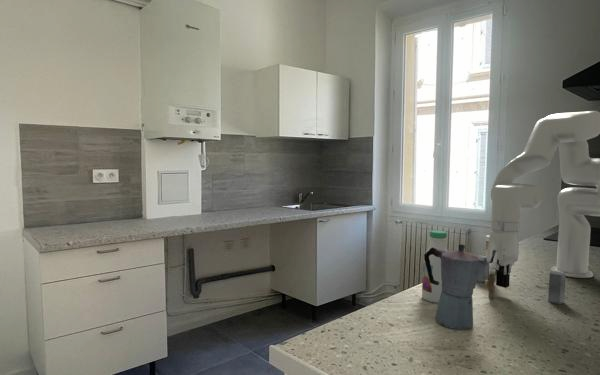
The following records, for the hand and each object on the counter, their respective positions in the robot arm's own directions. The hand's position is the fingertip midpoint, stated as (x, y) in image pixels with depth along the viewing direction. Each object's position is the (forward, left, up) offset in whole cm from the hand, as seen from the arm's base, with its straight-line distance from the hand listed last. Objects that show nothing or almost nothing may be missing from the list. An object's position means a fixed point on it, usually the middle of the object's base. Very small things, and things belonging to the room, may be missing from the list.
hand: (502, 286), depth 120 cm
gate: (-1, -4, -2) cm, 5 cm away
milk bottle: (+20, -9, -3) cm, 22 cm away
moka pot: (+31, +4, -3) cm, 32 cm away
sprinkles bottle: (-22, -16, -3) cm, 27 cm away
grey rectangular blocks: (-8, 0, -3) cm, 8 cm away
